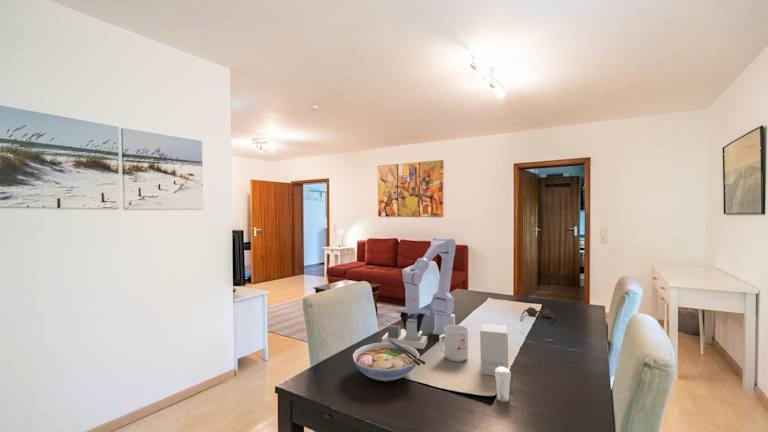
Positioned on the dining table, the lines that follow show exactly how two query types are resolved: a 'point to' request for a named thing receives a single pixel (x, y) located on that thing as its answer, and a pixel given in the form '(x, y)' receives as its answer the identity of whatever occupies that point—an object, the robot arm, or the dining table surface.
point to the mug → (455, 343)
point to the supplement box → (493, 348)
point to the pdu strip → (403, 338)
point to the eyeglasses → (544, 313)
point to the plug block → (411, 328)
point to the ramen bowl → (386, 360)
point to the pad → (405, 332)
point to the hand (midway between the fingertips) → (412, 331)
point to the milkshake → (502, 383)
